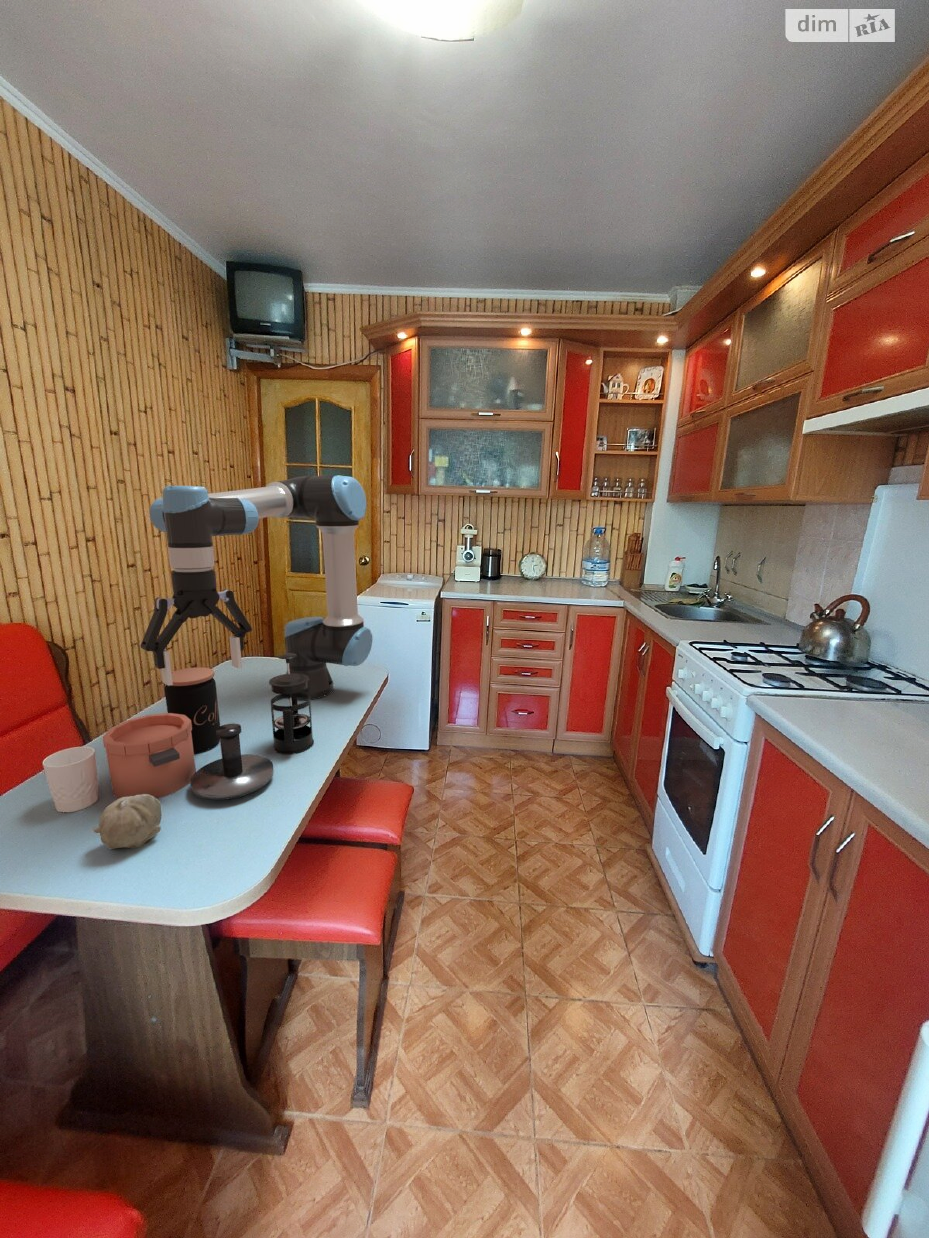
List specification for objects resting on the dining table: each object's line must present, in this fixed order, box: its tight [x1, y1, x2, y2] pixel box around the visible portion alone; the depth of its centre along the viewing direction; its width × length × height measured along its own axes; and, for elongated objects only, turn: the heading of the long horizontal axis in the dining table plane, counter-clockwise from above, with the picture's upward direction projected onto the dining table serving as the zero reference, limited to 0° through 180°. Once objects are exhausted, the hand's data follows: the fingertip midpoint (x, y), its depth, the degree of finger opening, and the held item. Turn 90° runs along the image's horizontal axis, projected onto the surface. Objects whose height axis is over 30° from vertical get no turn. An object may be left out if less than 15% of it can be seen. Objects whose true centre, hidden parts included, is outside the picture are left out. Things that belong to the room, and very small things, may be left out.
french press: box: [268, 652, 315, 755], centre depth 119 cm, size 12×9×23 cm
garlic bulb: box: [93, 794, 163, 850], centre depth 85 cm, size 9×8×10 cm
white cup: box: [42, 746, 100, 814], centre depth 96 cm, size 8×8×10 cm
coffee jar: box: [164, 666, 221, 754], centre depth 119 cm, size 11×11×18 cm
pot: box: [101, 712, 197, 800], centre depth 104 cm, size 21×15×12 cm
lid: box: [190, 722, 275, 800], centre depth 103 cm, size 16×16×13 cm
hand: (204, 674), depth 100 cm, fingers open, 13 cm apart
